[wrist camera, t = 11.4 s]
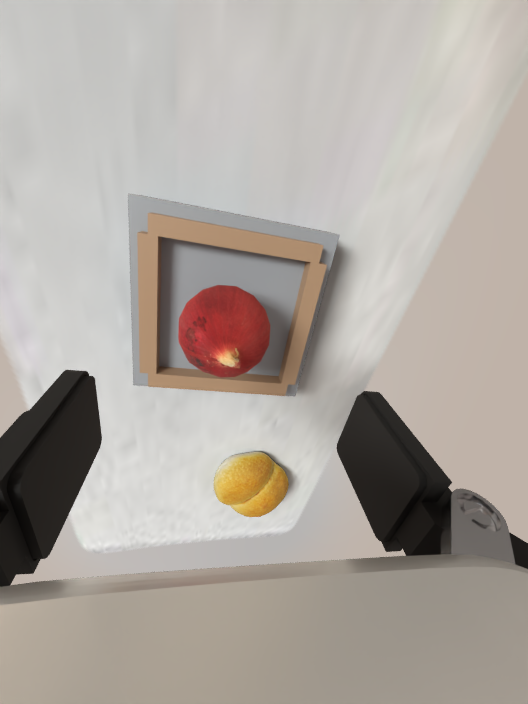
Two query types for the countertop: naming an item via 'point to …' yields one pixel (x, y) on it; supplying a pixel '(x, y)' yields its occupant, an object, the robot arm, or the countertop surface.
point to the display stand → (222, 269)
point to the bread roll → (250, 483)
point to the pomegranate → (224, 331)
